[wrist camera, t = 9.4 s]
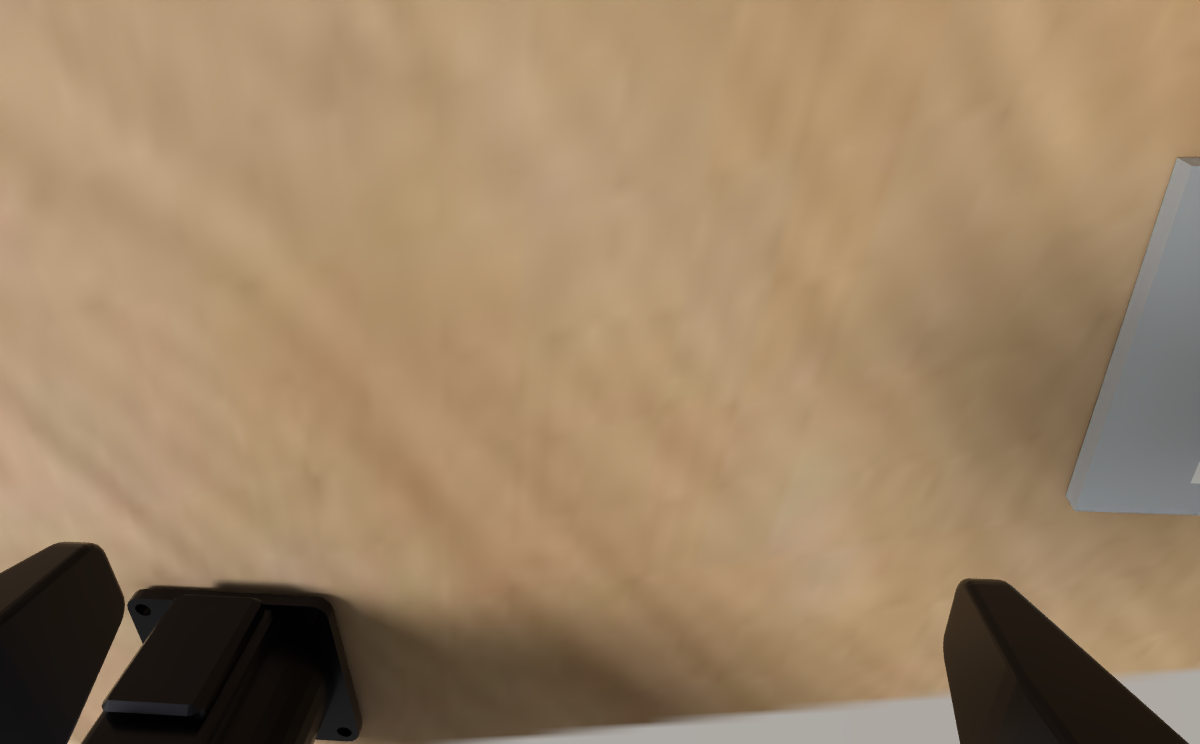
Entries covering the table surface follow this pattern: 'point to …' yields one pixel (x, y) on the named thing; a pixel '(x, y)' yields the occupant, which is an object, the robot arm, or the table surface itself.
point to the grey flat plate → (1152, 377)
